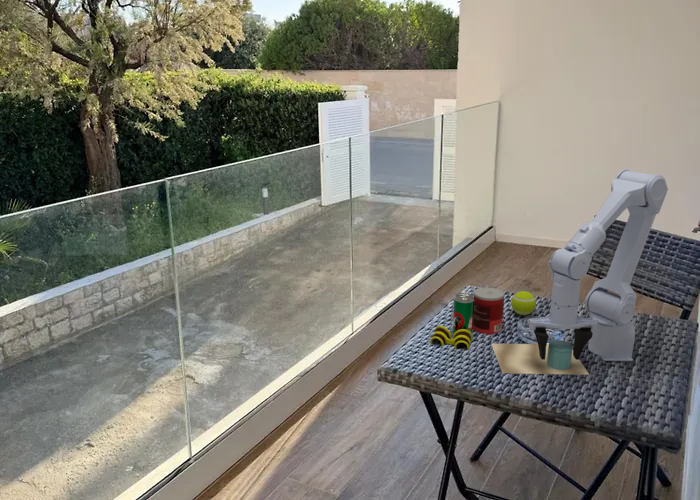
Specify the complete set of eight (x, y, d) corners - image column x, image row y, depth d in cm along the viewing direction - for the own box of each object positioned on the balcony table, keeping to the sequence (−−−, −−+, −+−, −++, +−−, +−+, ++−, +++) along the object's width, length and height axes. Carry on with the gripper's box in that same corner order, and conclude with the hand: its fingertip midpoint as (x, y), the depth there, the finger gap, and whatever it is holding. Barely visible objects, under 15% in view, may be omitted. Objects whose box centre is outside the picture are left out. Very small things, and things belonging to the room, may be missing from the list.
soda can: (472, 344, 153) (474, 300, 149) (451, 343, 154) (453, 298, 150) (472, 336, 158) (474, 292, 154) (452, 334, 159) (454, 291, 155)
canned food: (500, 326, 163) (503, 287, 160) (502, 339, 156) (505, 299, 152) (471, 324, 165) (473, 286, 161) (471, 337, 157) (474, 297, 154)
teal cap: (565, 359, 142) (568, 339, 141) (573, 369, 138) (575, 349, 136) (544, 359, 142) (546, 340, 141) (550, 369, 138) (552, 349, 136)
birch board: (568, 349, 150) (569, 344, 150) (588, 379, 136) (589, 374, 135) (490, 347, 151) (491, 343, 151) (502, 377, 137) (502, 373, 136)
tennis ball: (538, 318, 168) (540, 295, 166) (514, 319, 168) (516, 296, 166) (530, 309, 174) (532, 287, 172) (507, 309, 174) (509, 287, 172)
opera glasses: (429, 351, 152) (429, 334, 150) (434, 338, 156) (434, 322, 154) (468, 357, 149) (468, 340, 146) (472, 344, 153) (473, 328, 150)
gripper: (591, 295, 139) (585, 349, 143) (527, 295, 140) (522, 349, 144) (602, 307, 132) (595, 363, 136) (535, 307, 133) (530, 363, 137)
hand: (559, 357), depth 140 cm, fingers open, 7 cm apart
